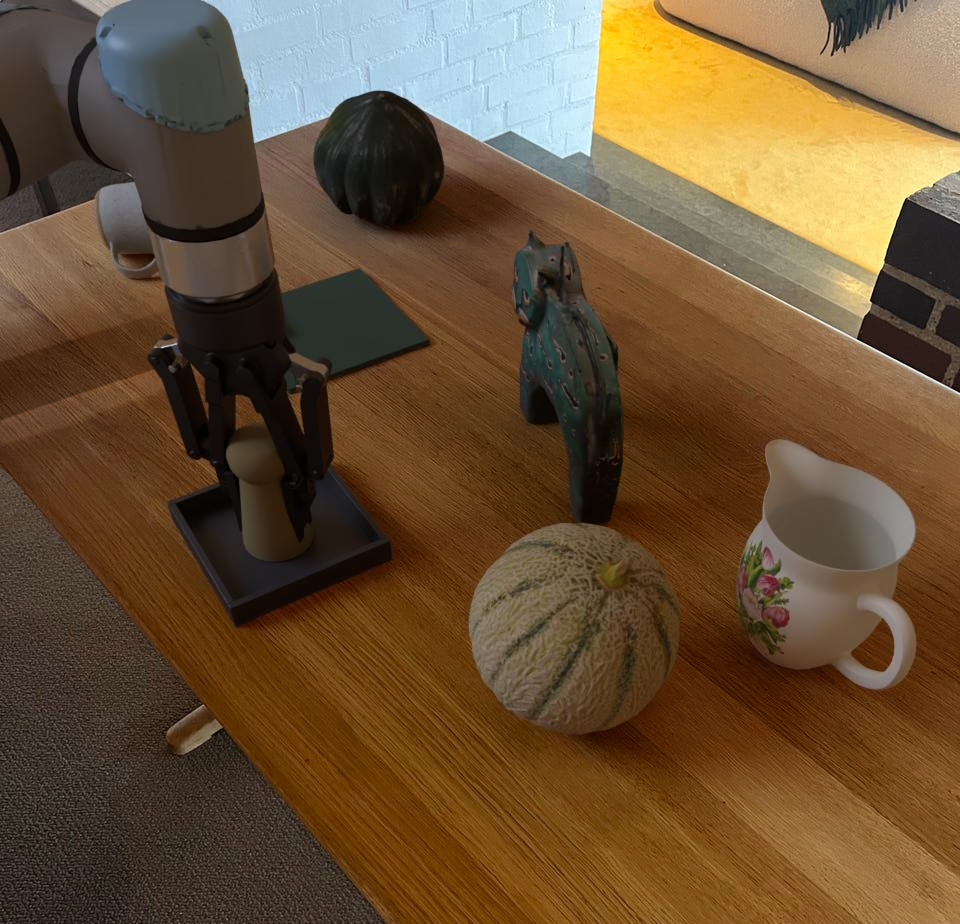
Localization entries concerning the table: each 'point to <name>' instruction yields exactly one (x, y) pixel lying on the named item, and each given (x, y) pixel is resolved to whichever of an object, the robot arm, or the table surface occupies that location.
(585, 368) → the ceramic cat
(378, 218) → the squash
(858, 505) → the pitcher
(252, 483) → the wooden peg doll
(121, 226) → the ceramic mug
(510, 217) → the table surface
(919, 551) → the table surface
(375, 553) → the tray
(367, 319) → the mat
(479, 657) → the cantaloupe
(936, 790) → the table surface
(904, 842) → the table surface
